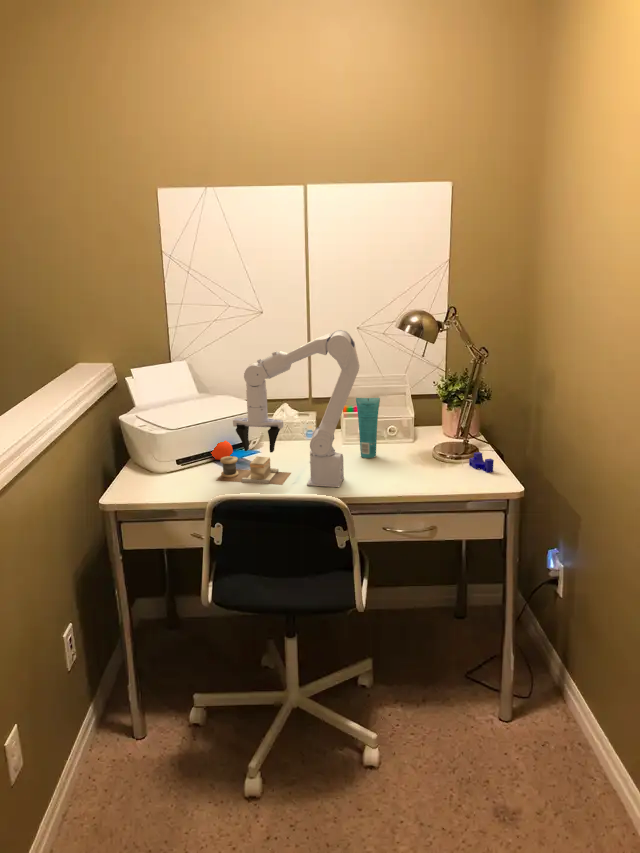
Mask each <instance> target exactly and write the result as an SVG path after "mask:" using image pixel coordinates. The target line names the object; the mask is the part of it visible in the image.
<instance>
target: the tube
mask: <svg viewBox="0 0 640 853" xmlns="http://www.w3.org/2000/svg"><path fill="white" fill-rule="evenodd" d="M380 400H381V397H355V402H356V411H357V420H358V434H359V450H360V457H361V458H364V459H373V458H375V457H376V456H377V442H378V441H377V437H378V434H377V433H378V421H379V420H378V419H379V407H380V402H381V401H380Z"/></svg>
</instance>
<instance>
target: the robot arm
mask: <svg viewBox="0 0 640 853" xmlns="http://www.w3.org/2000/svg"><path fill="white" fill-rule="evenodd" d="M316 354H319V355H324V356H327V355H328V354H329V355H330V357H332V358H334V359H335V361H336V362H337V364H338V366H339V367H340V373H339V376H338V378H337V381H336V384H335V385H334V386H335V387H334V388H333V391H332V394H331V396H330V399H329V402H328V404H327V405H326V409H325V411H324V415H323V417H322V419H321V422H320V423H319V425H318V427H316V428H315V429H314V431H313V432H312V436H311V440H310V442H309V449H310V450H309V464H310V465H309V467H310V470H309V471H310V478H309V480H308V481H307V482H306V485H307V486H312V487H315V486H317V487H329V488H340V486H341V484H342V482H343V481H344V479H345V476H344V475H345V474H344V473H345V472H344V455H343V453H339V452H336V449H335V447H334V446H333V442H334V439H335V431H336V429H337V427H338V426H337V425H338V423H339V421H340V418H341V416H342V413H343V410H344V409H345V405H346V404H347V401H348V399H349V396H350V393H351V392H352V391H351V390H352V388H353V386H354V383H355V381H356V378H357V376H358V373H359V371H360V362H359V357H358V354H357V348H356V344H355V341H354V339H353V338H352V336H351V334H350V333H348V331H346V330H343V329H338V330H335V331H333V332H331V333H330V332H329V333H326V334H323V335H321V336H318V337H317V338H314V339H313V340H310V341H309V342H306V343H304V344H303V345H301V346H298V347H297V348H294V349H292V350H290V351H289V352H285V351H283V350H282V351H281V350H280V351H277V350H275V351H272V353H271V355H270V356H269V355H268V356H267V357H265V358H263V359H261V358H259V359H257V360H256V362H253V363H251V364H249V366H248V367H247V368H246V369H245V370H244V373H243V379H244V381H245V383H246V384H245V385H246V390H245V391H246V392H245V394H246V407H247V408H246V410H247V412H246V413H247V417H242V418H241V417H237V418H236V417H235V418H233V419H232V427H236V429H235V433H236V435H238V437H239V439H240V440H241V443H242V447H243V450H244V452H247V451H248V450H249V449H250V441H249V430H250V427H252V428H254V427H255V428H257V427H258V428H268V430H267V434H268V439H269V440H268V441H269V442H268V443H269V453H273V452H274V451H275V446H276V441H277V438H278V435H279V433H280V430H281V429H283V428H284V420H282V419H274V418H269V414H268V392H267V383H266V382H267V381H266V379H267V380H268V379H272V378H274V377H277V376H279V375H282V374H283V373H286V372H288V371H290V369H291V367H292V364H294V363H296V362H299V361H301V360H304V359H306V358H308V357H311V356H313V355H316Z"/></svg>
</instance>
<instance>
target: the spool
mask: <svg viewBox="0 0 640 853" xmlns="http://www.w3.org/2000/svg"><path fill="white" fill-rule="evenodd" d="M238 460H239V459H238V457H237V456H235V455H234V456H226V457H223V458H221V459H220V460H219V461H220V462H219V463H221V464H222V471H221V473H220V476H222V477H224V478H233V477H236V476H238V471H236V469H237V462H239V461H238Z"/></svg>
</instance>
